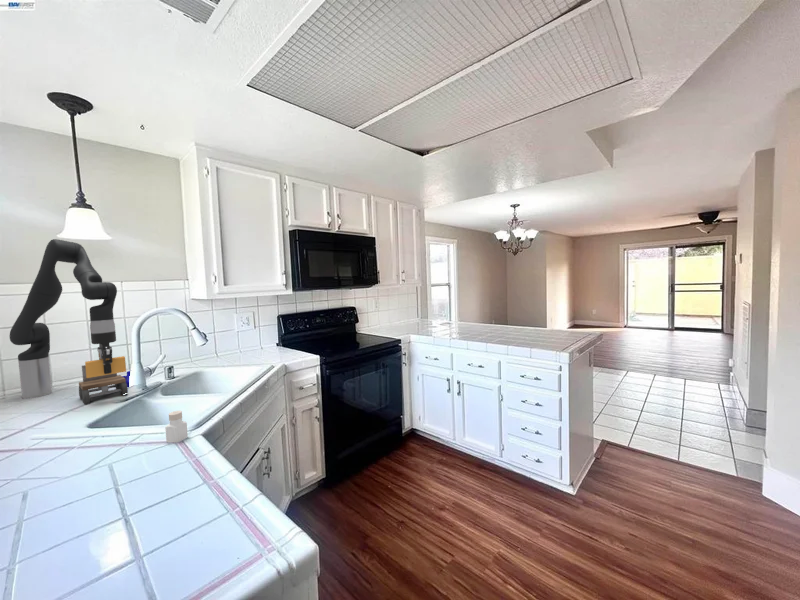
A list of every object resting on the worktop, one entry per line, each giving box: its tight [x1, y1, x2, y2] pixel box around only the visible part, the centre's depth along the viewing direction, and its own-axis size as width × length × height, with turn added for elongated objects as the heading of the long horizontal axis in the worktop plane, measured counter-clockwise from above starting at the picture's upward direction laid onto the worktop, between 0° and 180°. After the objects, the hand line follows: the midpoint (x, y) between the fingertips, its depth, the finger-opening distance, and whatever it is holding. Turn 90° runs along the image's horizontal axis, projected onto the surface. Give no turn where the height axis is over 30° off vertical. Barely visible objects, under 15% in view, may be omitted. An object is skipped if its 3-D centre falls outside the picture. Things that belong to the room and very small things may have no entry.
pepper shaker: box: [164, 410, 189, 444], centre depth 95 cm, size 4×4×10 cm
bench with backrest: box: [78, 365, 129, 405], centre depth 141 cm, size 16×14×14 cm
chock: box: [84, 355, 127, 378], centre depth 134 cm, size 4×12×6 cm, turn 134°
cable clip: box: [121, 370, 131, 387], centre depth 159 cm, size 12×4×6 cm, turn 22°
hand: (106, 372), depth 134 cm, fingers closed on chock, 4 cm apart
